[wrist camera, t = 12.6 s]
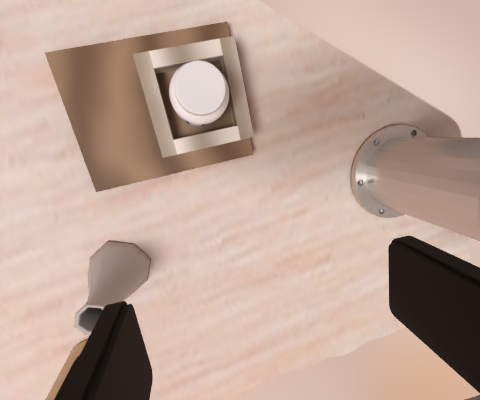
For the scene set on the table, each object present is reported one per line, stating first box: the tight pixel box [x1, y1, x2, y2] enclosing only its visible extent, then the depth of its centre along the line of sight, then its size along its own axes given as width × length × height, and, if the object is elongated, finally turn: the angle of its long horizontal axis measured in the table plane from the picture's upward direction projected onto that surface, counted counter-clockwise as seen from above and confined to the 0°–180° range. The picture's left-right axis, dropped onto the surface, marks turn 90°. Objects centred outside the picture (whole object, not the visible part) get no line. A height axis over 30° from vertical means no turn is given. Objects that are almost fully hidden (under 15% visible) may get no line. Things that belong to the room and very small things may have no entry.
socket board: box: [45, 22, 254, 192], centre depth 28 cm, size 18×14×4 cm
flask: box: [75, 241, 150, 335], centre depth 29 cm, size 7×7×10 cm
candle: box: [46, 340, 87, 400], centre depth 31 cm, size 6×6×10 cm
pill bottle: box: [169, 60, 229, 127], centre depth 25 cm, size 5×5×9 cm
